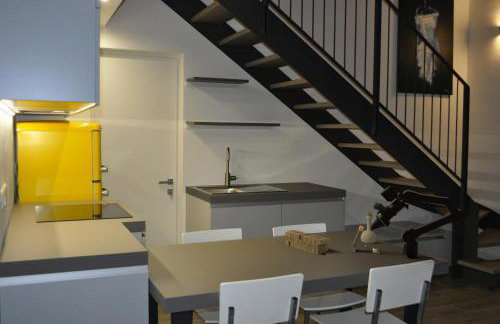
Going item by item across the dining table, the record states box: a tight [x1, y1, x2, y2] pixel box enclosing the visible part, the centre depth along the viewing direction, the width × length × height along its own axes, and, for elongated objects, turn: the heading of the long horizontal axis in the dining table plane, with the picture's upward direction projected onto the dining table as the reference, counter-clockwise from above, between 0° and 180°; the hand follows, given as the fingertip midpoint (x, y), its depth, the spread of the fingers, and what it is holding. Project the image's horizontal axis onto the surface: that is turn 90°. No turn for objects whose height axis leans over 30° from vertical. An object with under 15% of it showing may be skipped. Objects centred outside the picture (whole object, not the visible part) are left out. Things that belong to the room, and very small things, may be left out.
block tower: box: [284, 229, 332, 255], centre depth 277 cm, size 8×8×29 cm
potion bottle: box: [360, 211, 378, 244], centre depth 292 cm, size 9×9×18 cm
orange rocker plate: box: [352, 225, 365, 247], centre depth 269 cm, size 2×5×13 cm, turn 171°
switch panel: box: [349, 243, 381, 256], centre depth 268 cm, size 20×13×4 cm, turn 80°
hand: (370, 228), depth 267 cm, fingers open, 3 cm apart
